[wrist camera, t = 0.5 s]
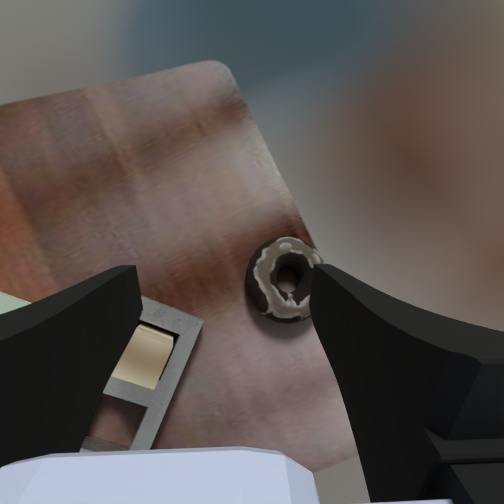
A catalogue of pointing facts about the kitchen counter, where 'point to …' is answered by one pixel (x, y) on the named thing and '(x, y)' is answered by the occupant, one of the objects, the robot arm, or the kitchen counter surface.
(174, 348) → the rail
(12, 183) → the kitchen counter surface
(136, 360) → the peg
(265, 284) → the donut
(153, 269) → the kitchen counter surface
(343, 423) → the kitchen counter surface
